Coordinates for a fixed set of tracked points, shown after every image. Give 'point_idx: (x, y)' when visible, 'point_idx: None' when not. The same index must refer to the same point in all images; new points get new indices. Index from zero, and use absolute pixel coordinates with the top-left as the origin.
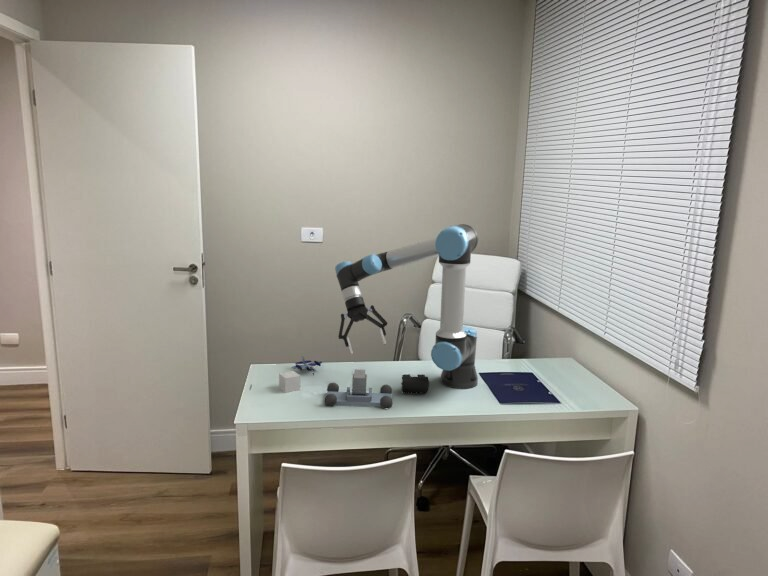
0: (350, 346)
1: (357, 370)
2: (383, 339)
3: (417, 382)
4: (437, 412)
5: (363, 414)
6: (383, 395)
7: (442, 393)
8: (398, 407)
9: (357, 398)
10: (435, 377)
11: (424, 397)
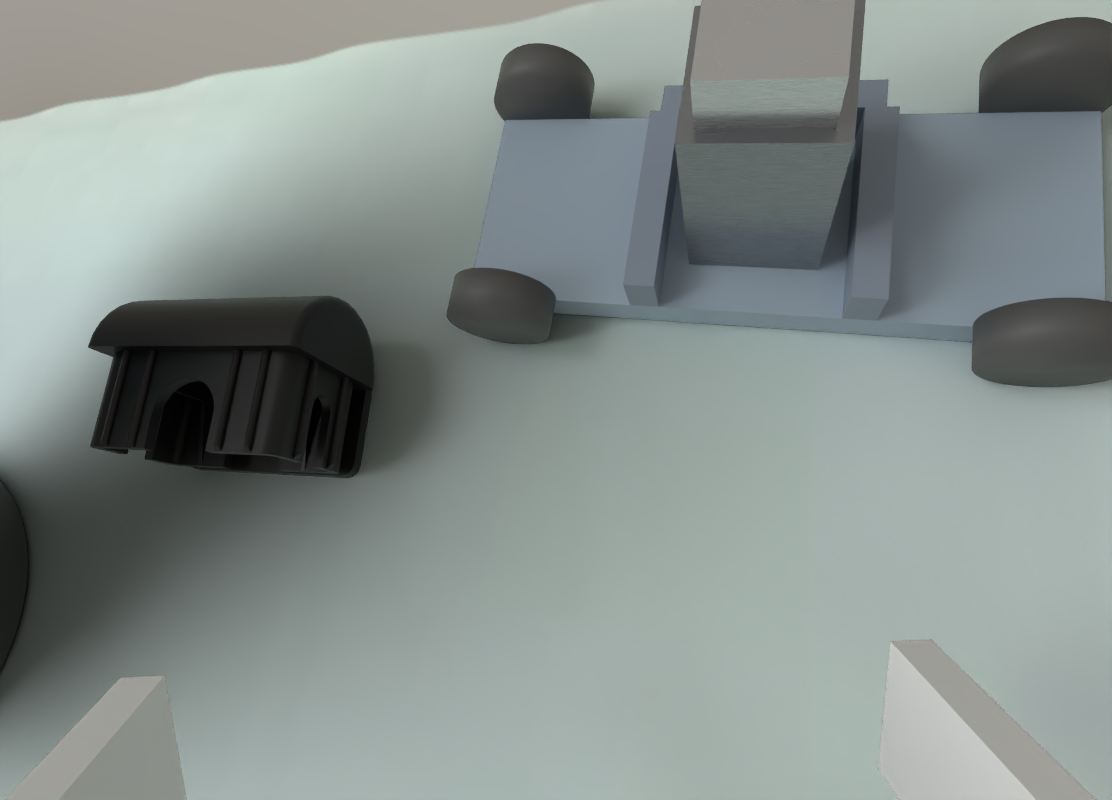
0: (1014, 755)
1: (806, 41)
2: (89, 754)
3: (210, 301)
4: (257, 95)
5: None
6: (539, 252)
7: None
8: (468, 141)
9: None
10: (16, 729)
11: None
